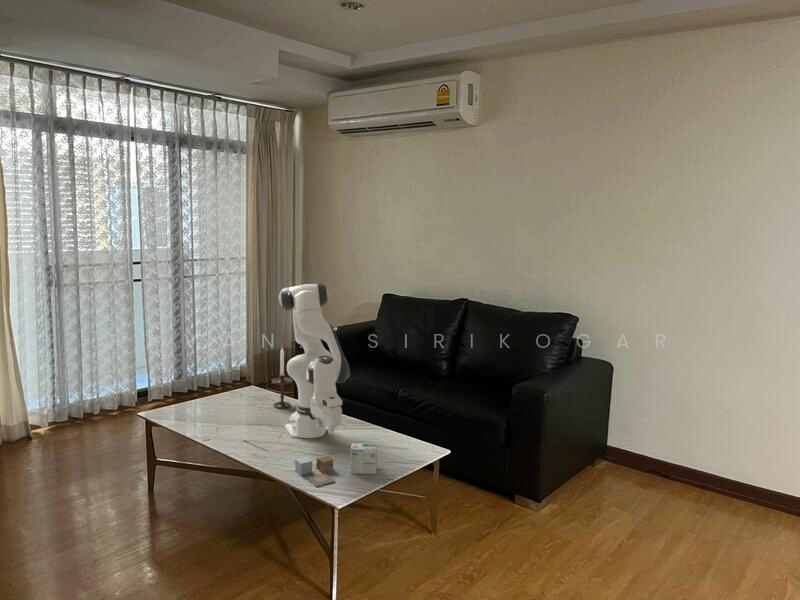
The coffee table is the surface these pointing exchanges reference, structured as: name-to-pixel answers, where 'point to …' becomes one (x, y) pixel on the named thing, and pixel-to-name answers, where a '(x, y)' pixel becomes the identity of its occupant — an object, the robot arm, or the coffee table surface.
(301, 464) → the slate block
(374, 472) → the light bulb box
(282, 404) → the candlestick
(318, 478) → the tile
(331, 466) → the walnut block
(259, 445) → the coffee table surface
